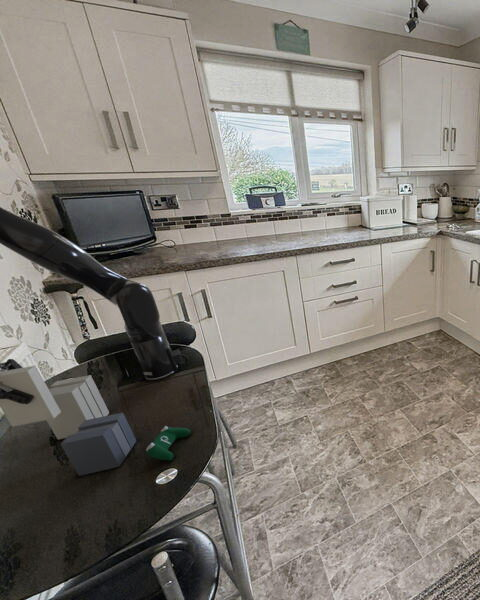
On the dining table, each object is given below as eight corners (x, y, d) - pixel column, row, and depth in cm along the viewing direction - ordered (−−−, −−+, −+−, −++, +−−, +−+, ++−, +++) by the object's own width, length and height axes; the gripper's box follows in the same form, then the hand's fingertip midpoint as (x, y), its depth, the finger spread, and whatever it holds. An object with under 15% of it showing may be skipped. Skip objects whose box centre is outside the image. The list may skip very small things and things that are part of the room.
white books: (77, 419, 93) (56, 381, 88) (109, 412, 95) (90, 374, 90) (57, 439, 86) (33, 399, 81) (93, 432, 87) (71, 392, 83)
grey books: (100, 449, 81) (84, 418, 78) (136, 440, 83) (122, 411, 79) (79, 476, 74) (60, 444, 70) (119, 466, 75) (103, 434, 72)
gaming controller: (185, 439, 85) (163, 428, 83) (193, 429, 84) (170, 418, 82) (165, 468, 76) (139, 457, 74) (172, 458, 75) (147, 446, 73)
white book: (20, 419, 77) (-8, 372, 72) (61, 411, 78) (35, 365, 74) (12, 426, 74) (-18, 378, 70) (54, 418, 76) (27, 371, 71)
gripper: (-91, 364, 61) (20, 403, 68) (-23, 333, 74) (65, 368, 81) (-110, 394, 62) (2, 429, 69) (-39, 358, 74) (49, 390, 81)
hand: (36, 396), depth 75 cm, fingers closed on white book, 2 cm apart
